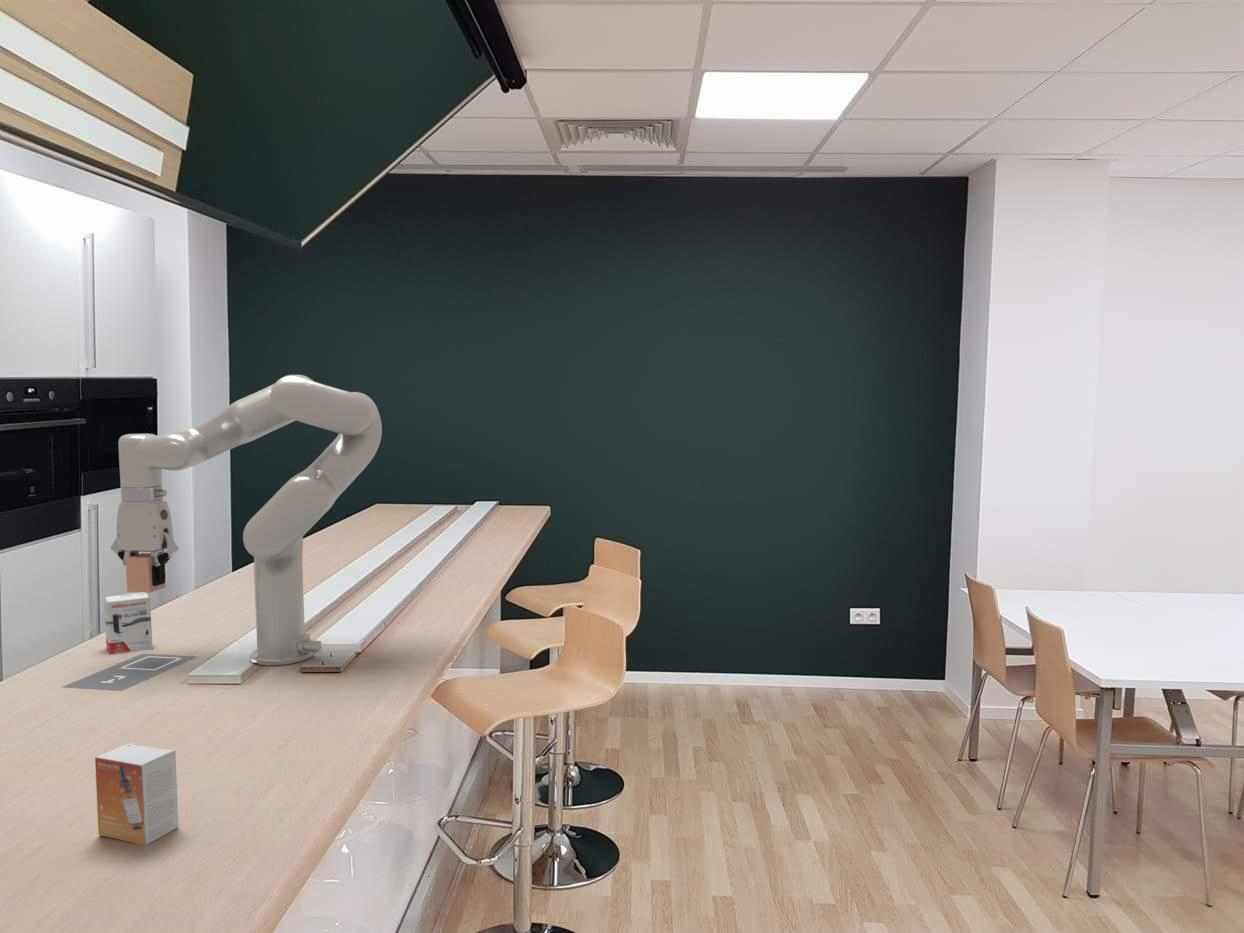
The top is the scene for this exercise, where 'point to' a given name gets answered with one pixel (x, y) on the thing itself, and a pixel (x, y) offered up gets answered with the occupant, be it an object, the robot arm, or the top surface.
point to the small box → (136, 793)
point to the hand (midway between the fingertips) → (146, 583)
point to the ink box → (128, 623)
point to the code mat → (130, 672)
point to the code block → (140, 573)
